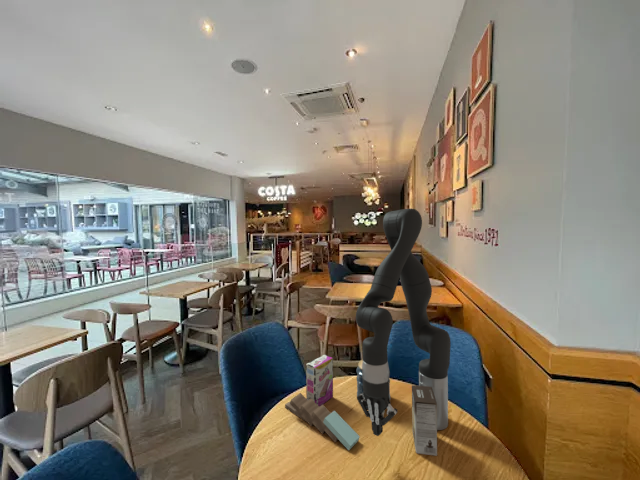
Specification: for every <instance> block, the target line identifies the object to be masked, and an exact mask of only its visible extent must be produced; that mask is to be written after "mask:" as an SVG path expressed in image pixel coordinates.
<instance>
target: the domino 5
mask: <svg viewBox="0 0 640 480" xmlns="http://www.w3.org/2000/svg"><path fill="white" fill-rule="evenodd" d="M323 423H324V424H325V425H326V426H327V427H328V428H329V430H330V431H331V432H332V433H333V434H334V435H335V436H336V437H337V438H338V440H339V442H340V443H341V444H342V445H343V446H344V447H345V448H346V449H347V451H350V450H351V449H352V448H353V447H354V446H355V445H356V444H357V443H358V442H359V440H360V435H359V434H358V433H357V432H356V431H355V429H353V428H352V427H351V425H349V423H347V421H345V420H344V419H343V418H342V417H341V416H340V414H338V412H336V410H333V411H332V412H330V414H329V415H328V416H327V417H325V419H324V422H323Z"/></svg>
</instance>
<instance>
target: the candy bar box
mask: <svg viewBox="0 0 640 480" xmlns="http://www.w3.org/2000/svg"><path fill="white" fill-rule="evenodd" d="M333 361H334V357H331V356H329V355H327V354H322V355H321V356H319V357H317V358H315V359H313V360H311V361H309V362H307V363H306V364H305V371H306V372H305V374H306V375H305V376H306V377H305V382H306V383H305V384H306V386H305V387H306V388H305V389H306V390H305V393H306V396H305V398H306V399H307V400H310V399H312V400H313V401H314V402H315V403H316V404H317V405H318V406H319V407H320V406H321V405H324V404H326V403H327V402H328V401H330V400H331V399H332V398H334V362H333Z"/></svg>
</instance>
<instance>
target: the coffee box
mask: <svg viewBox="0 0 640 480" xmlns="http://www.w3.org/2000/svg"><path fill="white" fill-rule="evenodd" d="M411 415H412V416H411V418H412V419H411V422H412V423H411V425H412V426H411V427H412V428H411V429H412V437H413V444H414V449H415V453H416V454H419V455H429V456H438V430H437V402H436V399H435V396H434V392H433V389H432V387H429V386H419V385H414V384H413V385H411Z"/></svg>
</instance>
